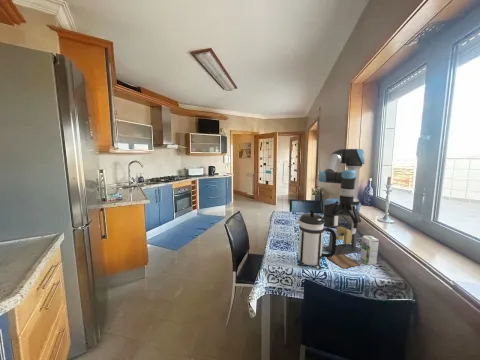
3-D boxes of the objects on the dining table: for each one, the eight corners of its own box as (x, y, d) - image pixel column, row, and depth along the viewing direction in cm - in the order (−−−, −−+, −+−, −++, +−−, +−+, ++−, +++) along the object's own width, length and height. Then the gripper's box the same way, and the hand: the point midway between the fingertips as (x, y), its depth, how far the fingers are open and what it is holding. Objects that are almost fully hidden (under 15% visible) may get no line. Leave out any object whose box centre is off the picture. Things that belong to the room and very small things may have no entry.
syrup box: (359, 259, 117) (361, 235, 115) (369, 259, 117) (371, 235, 115) (366, 265, 111) (369, 239, 109) (376, 264, 111) (379, 239, 110)
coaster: (342, 255, 122) (342, 254, 122) (360, 265, 111) (360, 264, 111) (326, 258, 118) (326, 257, 118) (343, 268, 107) (343, 267, 107)
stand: (348, 244, 136) (349, 227, 135) (361, 251, 127) (363, 233, 125) (323, 248, 130) (325, 230, 128) (336, 256, 120) (337, 236, 119)
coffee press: (309, 274, 101) (313, 215, 98) (289, 259, 116) (292, 207, 112) (335, 267, 108) (339, 212, 105) (313, 253, 123) (316, 205, 119)
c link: (340, 238, 132) (341, 226, 131) (350, 243, 124) (352, 230, 124) (335, 238, 131) (336, 226, 130) (345, 244, 123) (346, 231, 122)
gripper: (326, 192, 135) (324, 223, 137) (360, 199, 111) (356, 237, 113) (335, 191, 137) (333, 222, 139) (370, 199, 114) (366, 235, 116)
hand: (344, 229), depth 126 cm, fingers open, 13 cm apart
